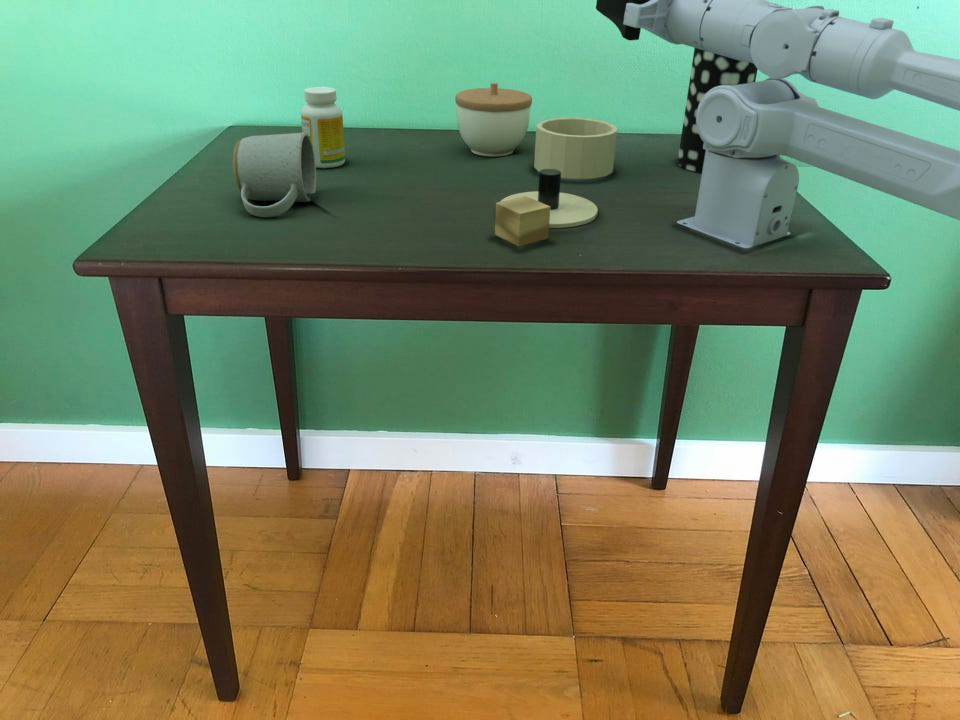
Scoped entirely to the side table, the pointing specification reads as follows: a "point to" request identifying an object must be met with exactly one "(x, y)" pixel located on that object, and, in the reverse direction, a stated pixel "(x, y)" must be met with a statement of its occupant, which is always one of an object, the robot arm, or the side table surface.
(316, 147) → the supplement bottle
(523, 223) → the block
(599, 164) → the tin
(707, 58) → the white-spotted black cylinder
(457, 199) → the side table surface
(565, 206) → the tin lid
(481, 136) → the trinket box
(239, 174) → the ceramic mug
